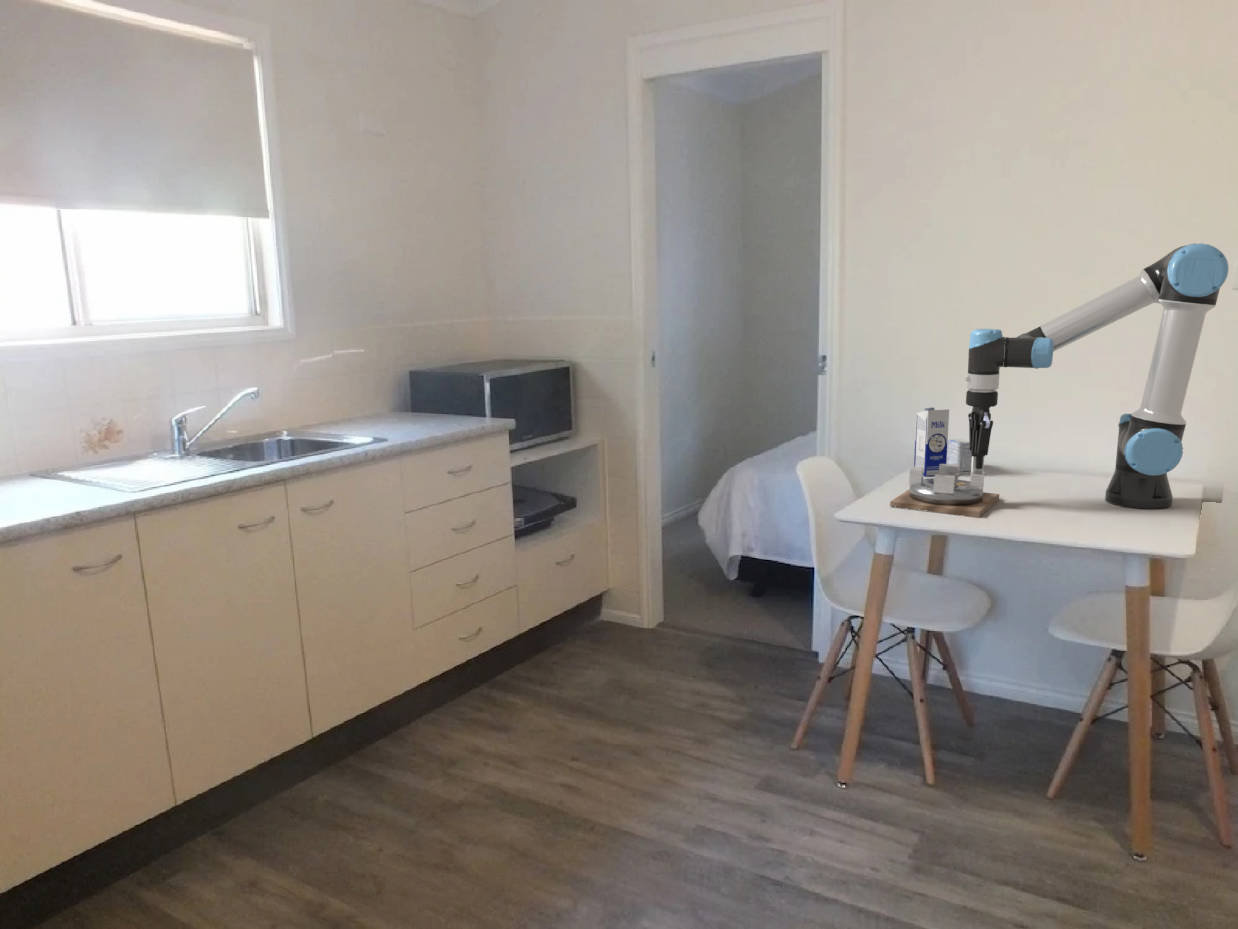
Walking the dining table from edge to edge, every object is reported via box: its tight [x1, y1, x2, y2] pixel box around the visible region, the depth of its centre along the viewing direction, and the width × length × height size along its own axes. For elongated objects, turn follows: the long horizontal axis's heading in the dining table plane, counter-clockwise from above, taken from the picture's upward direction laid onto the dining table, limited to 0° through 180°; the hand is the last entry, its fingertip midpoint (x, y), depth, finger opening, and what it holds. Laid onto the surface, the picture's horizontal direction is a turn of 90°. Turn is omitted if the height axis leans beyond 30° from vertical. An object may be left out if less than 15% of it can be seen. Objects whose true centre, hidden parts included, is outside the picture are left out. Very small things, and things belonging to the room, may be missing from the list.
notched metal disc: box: [908, 463, 985, 505], centre depth 242 cm, size 18×18×7 cm
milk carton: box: [913, 407, 950, 477], centre depth 277 cm, size 7×7×20 cm
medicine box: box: [946, 438, 972, 472], centre depth 284 cm, size 8×4×9 cm, turn 14°
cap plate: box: [889, 488, 1000, 518], centre depth 243 cm, size 22×22×2 cm
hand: (976, 480), depth 242 cm, fingers closed
